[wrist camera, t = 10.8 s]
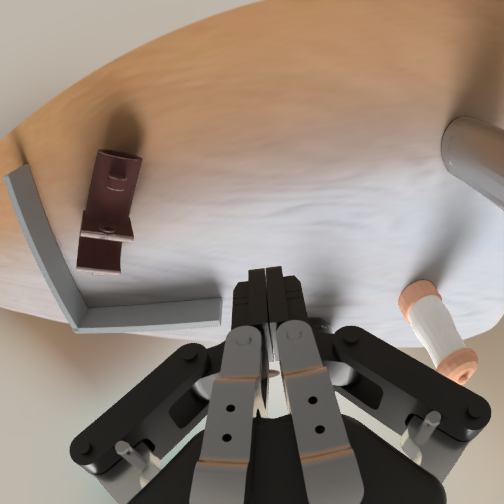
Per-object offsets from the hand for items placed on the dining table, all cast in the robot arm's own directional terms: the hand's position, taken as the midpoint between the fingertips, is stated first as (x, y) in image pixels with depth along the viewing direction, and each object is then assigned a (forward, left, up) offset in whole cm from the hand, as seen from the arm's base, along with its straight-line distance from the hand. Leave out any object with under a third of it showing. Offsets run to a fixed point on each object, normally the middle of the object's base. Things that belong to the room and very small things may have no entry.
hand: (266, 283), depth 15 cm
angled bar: (+20, +9, -25) cm, 34 cm away
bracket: (+19, +5, -26) cm, 32 cm away
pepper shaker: (-25, +27, -26) cm, 45 cm away
